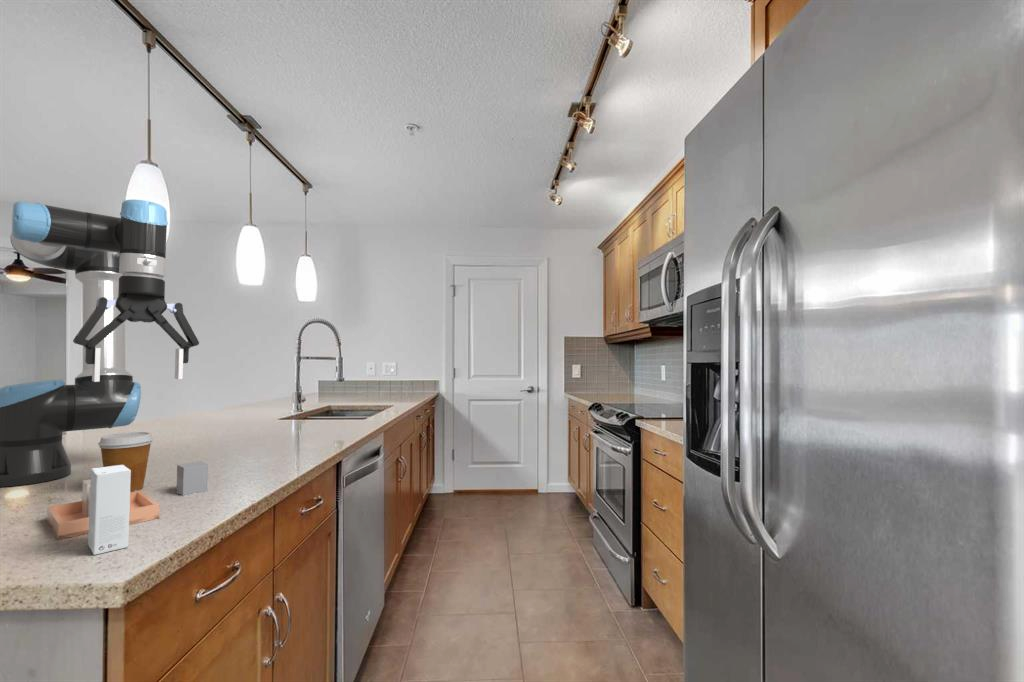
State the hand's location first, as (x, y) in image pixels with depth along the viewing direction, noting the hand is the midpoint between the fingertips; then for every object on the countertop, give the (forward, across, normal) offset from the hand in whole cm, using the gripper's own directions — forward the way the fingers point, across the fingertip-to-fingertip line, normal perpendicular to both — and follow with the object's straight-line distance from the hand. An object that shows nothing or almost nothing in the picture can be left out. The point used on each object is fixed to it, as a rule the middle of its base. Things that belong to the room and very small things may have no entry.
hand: (139, 380), depth 97 cm
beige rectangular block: (+24, -6, -7) cm, 26 cm away
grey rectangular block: (+25, +10, -2) cm, 27 cm away
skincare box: (+24, -8, -26) cm, 36 cm away
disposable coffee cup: (+25, 0, +11) cm, 28 cm away
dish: (+24, -6, -10) cm, 27 cm away
